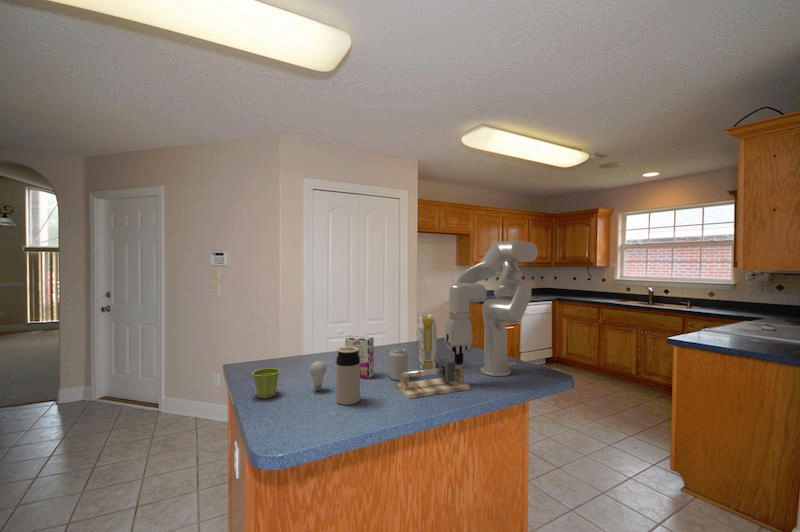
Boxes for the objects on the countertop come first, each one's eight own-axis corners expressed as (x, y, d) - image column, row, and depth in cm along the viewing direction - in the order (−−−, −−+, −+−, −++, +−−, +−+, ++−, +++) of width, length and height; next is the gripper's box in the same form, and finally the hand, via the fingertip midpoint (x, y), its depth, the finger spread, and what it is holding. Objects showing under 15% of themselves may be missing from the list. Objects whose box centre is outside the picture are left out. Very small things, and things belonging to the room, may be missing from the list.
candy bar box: (374, 376, 152) (374, 337, 152) (368, 379, 147) (368, 339, 147) (351, 373, 156) (351, 335, 156) (345, 376, 152) (345, 337, 151)
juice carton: (436, 370, 160) (436, 316, 160) (419, 370, 160) (419, 316, 160) (435, 364, 169) (435, 313, 169) (418, 364, 169) (418, 313, 169)
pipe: (458, 370, 142) (458, 364, 142) (461, 371, 140) (461, 365, 140) (402, 377, 133) (402, 371, 133) (404, 379, 131) (404, 372, 131)
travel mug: (349, 407, 119) (349, 352, 119) (331, 402, 123) (331, 349, 123) (364, 399, 126) (364, 347, 126) (346, 395, 130) (346, 345, 130)
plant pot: (252, 393, 132) (252, 369, 132) (279, 389, 136) (279, 366, 136) (252, 402, 124) (252, 376, 124) (281, 398, 127) (281, 373, 127)
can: (405, 382, 144) (405, 352, 144) (387, 380, 146) (387, 351, 146) (409, 376, 152) (409, 347, 151) (391, 375, 153) (391, 346, 153)
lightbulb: (329, 388, 136) (329, 359, 136) (320, 394, 131) (320, 364, 131) (315, 387, 138) (315, 358, 138) (306, 392, 133) (306, 362, 133)
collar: (445, 375, 143) (445, 357, 143) (454, 381, 136) (454, 362, 136) (438, 376, 141) (438, 358, 141) (447, 382, 135) (447, 363, 135)
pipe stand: (453, 379, 147) (453, 363, 147) (469, 389, 136) (469, 372, 136) (396, 387, 138) (396, 370, 137) (408, 398, 126) (408, 380, 126)
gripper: (470, 314, 147) (469, 359, 147) (437, 315, 141) (437, 362, 141) (480, 316, 140) (480, 363, 140) (446, 318, 134) (446, 367, 134)
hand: (458, 363), depth 141 cm, fingers closed
